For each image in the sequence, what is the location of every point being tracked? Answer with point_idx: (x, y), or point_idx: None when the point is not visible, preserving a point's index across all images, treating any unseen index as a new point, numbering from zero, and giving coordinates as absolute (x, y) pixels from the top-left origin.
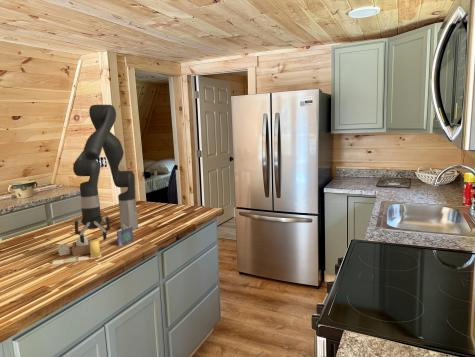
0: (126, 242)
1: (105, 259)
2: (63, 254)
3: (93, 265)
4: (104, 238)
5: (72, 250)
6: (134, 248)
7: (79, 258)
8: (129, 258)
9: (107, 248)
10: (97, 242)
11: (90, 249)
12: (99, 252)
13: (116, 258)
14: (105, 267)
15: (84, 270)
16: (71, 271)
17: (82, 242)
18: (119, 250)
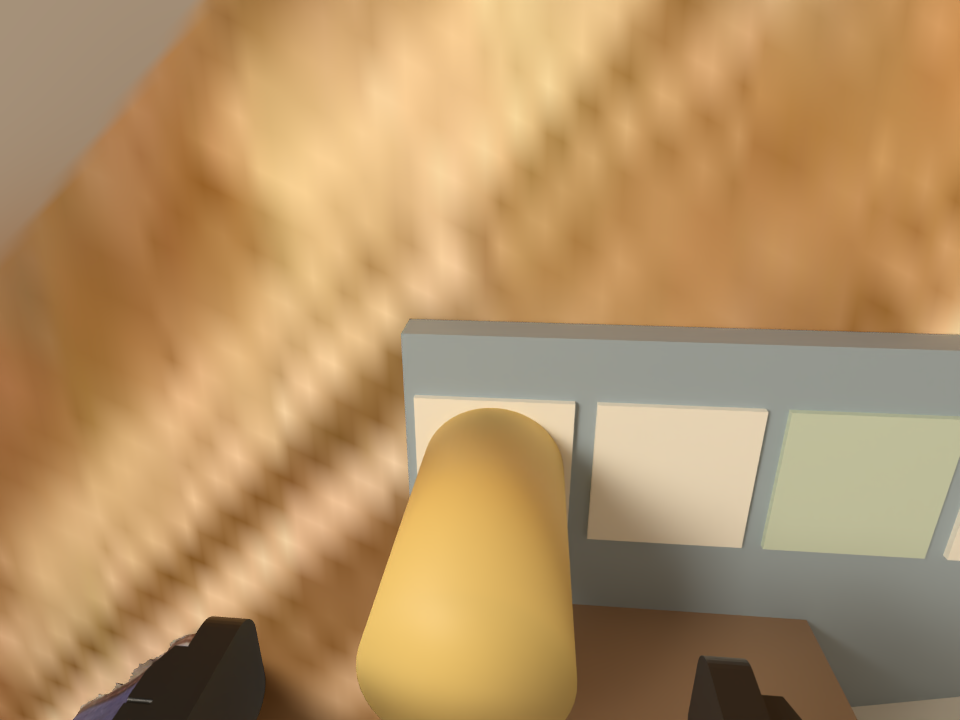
0: (112, 717)
1: (365, 370)
2: (926, 714)
3: (535, 209)
4: (194, 651)
5: (842, 698)
6: (30, 566)
7: (731, 488)
8: (19, 245)
9: (364, 707)
10: (390, 594)
11: (561, 531)
12: (421, 471)
13: (212, 335)
14: (343, 16)
15: (686, 41)
16: (897, 101)
17: (751, 672)
18: (210, 588)
